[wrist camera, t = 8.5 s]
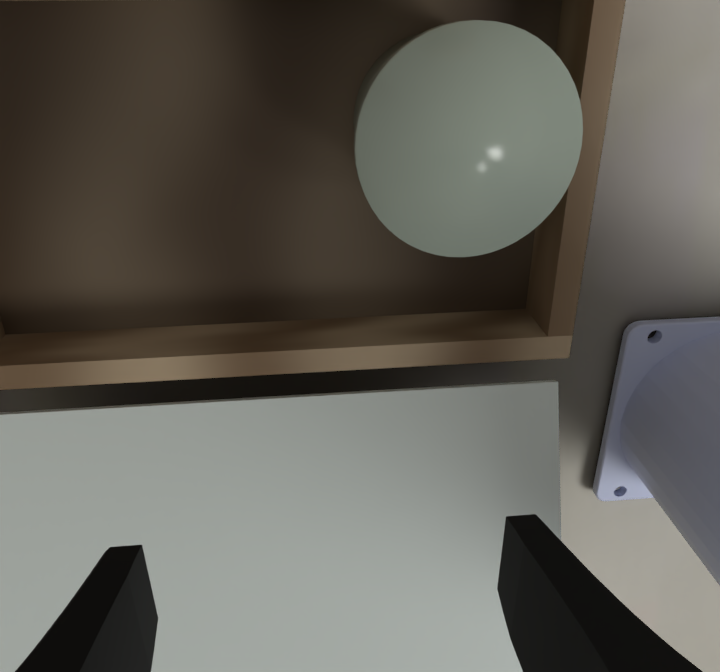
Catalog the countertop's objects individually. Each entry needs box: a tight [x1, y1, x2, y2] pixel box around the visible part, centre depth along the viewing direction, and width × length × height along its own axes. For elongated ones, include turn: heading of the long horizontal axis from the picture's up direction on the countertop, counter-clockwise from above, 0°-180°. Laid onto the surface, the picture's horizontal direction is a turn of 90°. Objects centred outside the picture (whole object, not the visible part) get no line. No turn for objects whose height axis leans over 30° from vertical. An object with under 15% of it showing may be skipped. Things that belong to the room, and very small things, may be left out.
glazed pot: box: [353, 20, 583, 257], centre depth 17 cm, size 5×5×4 cm
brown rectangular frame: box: [0, 0, 626, 390], centre depth 19 cm, size 19×20×5 cm
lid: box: [0, 380, 561, 672], centre depth 20 cm, size 18×10×1 cm, turn 90°
